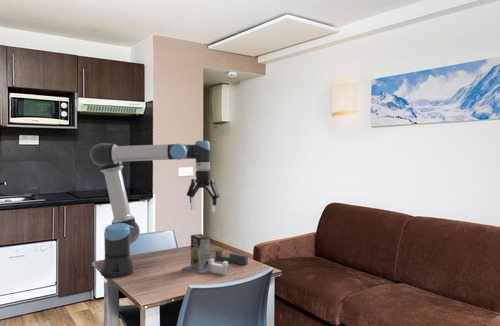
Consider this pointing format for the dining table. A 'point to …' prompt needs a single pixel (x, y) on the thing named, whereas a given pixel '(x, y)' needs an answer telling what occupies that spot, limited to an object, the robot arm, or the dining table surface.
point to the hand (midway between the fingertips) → (202, 210)
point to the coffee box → (200, 251)
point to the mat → (192, 269)
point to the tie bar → (232, 258)
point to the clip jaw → (218, 267)
